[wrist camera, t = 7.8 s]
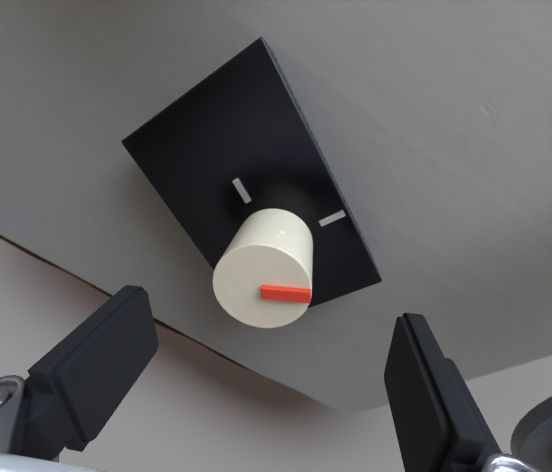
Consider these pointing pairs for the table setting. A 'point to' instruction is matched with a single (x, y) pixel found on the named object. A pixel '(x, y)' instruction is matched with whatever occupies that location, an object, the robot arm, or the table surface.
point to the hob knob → (266, 270)
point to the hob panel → (251, 169)
